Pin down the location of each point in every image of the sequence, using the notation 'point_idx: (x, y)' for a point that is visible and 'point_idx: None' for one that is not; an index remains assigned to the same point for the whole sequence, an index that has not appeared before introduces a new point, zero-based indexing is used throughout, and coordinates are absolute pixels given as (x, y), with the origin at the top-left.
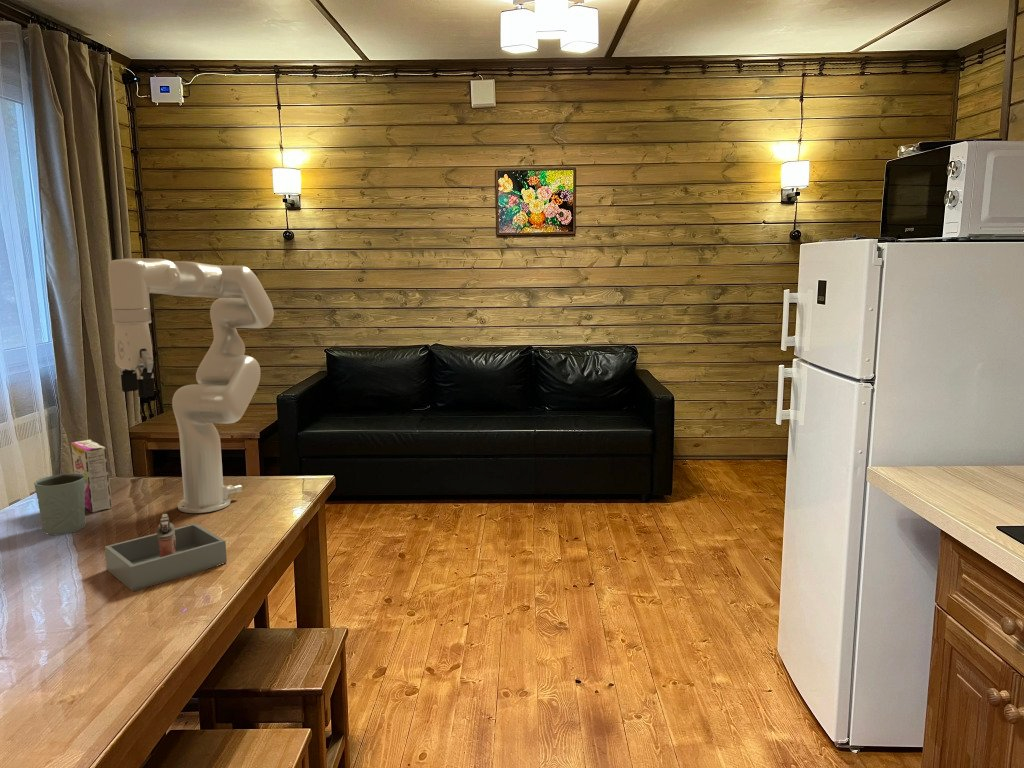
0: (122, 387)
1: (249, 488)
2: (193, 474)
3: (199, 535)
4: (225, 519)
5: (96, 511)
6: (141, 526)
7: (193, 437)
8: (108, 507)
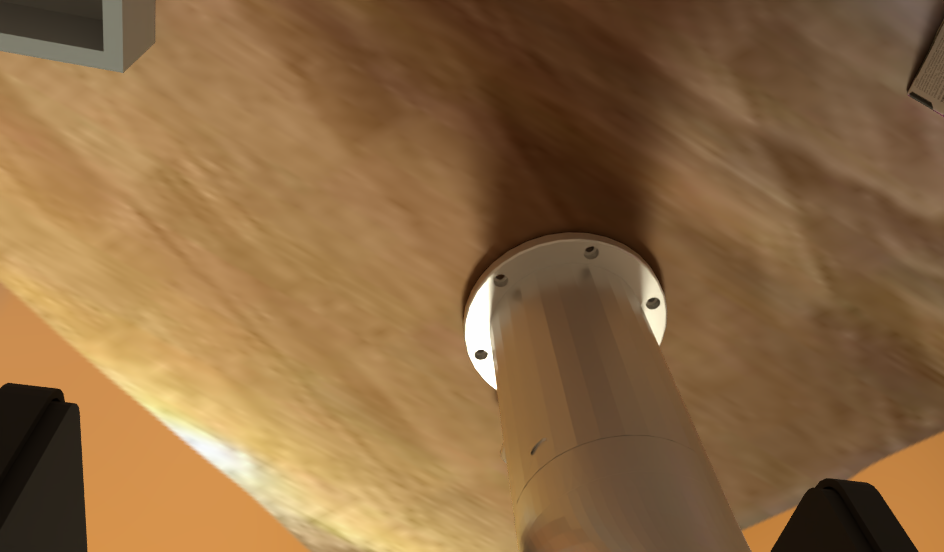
0: (876, 531)
1: None
2: (553, 363)
3: (47, 29)
4: (349, 275)
5: (939, 30)
6: (577, 38)
7: (576, 519)
8: (914, 83)
